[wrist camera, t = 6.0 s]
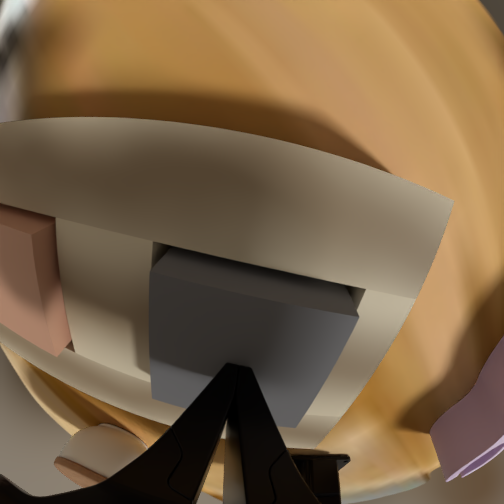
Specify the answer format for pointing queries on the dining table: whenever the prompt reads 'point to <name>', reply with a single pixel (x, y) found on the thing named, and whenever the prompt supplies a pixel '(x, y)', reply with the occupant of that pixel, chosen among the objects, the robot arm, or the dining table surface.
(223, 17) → the dining table surface
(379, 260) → the button console
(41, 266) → the terracotta button
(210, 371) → the charcoal button
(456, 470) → the mauve piece
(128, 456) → the lidded jar
